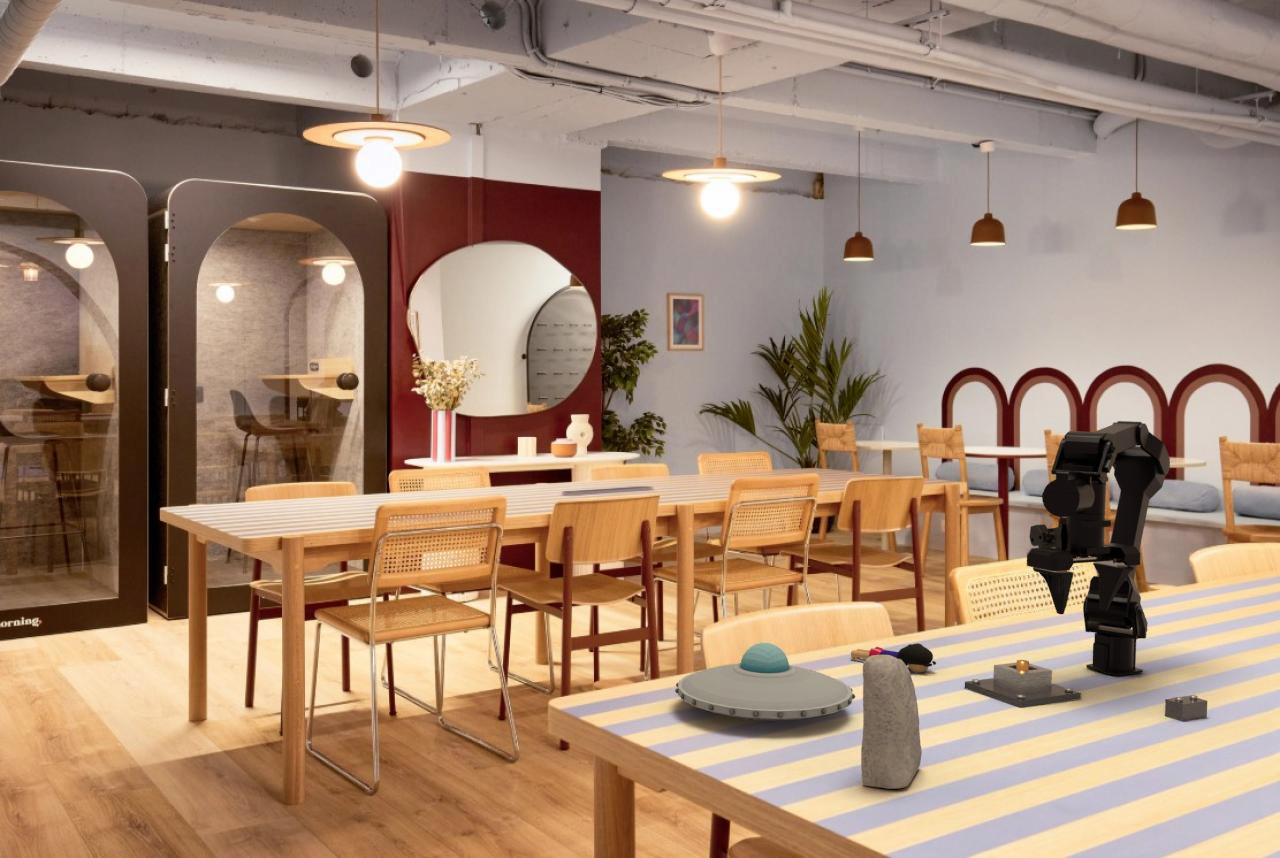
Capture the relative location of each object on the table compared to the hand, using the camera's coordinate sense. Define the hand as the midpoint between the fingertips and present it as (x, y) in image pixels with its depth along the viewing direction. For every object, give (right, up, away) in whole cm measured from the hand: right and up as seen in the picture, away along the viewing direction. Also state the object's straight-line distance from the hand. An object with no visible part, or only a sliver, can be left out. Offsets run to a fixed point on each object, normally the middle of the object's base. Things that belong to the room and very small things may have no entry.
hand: (1082, 611), depth 189 cm
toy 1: (-51, -12, -16) cm, 55 cm away
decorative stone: (-39, -14, -43) cm, 59 cm away
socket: (-10, -11, -3) cm, 16 cm away
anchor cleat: (+10, -13, -15) cm, 22 cm away
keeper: (-10, -12, -3) cm, 16 cm away
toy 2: (-27, -11, +13) cm, 32 cm away
